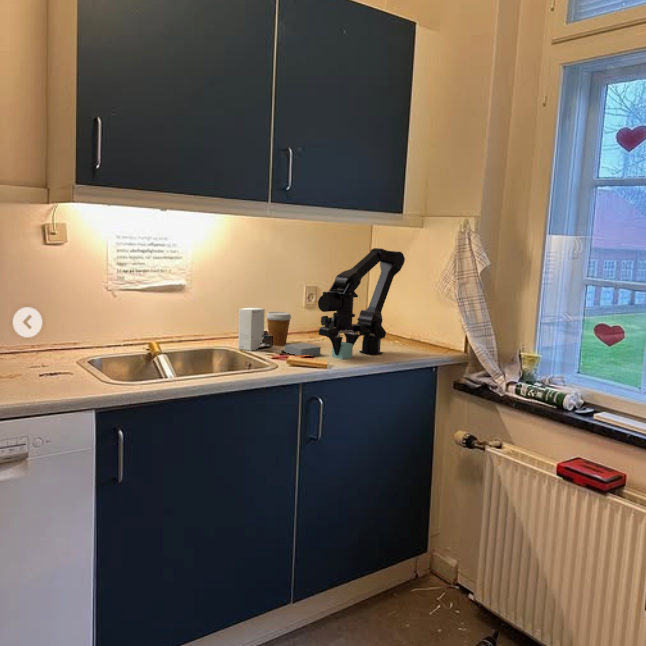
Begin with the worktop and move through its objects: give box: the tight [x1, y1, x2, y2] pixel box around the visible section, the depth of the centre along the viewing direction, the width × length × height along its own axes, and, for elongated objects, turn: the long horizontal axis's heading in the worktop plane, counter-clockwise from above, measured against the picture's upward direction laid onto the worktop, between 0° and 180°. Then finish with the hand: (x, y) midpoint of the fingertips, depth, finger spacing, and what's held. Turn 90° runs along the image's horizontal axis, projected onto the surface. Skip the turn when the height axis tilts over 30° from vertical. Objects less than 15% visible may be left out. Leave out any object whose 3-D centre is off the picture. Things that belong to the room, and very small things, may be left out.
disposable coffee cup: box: [265, 311, 292, 347], centre depth 238 cm, size 10×10×12 cm
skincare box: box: [237, 307, 266, 352], centre depth 227 cm, size 8×6×15 cm
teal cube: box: [331, 341, 354, 360], centre depth 221 cm, size 5×5×5 cm
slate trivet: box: [283, 342, 321, 356], centre depth 223 cm, size 9×9×3 cm
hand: (342, 354), depth 221 cm, fingers closed on teal cube, 5 cm apart
